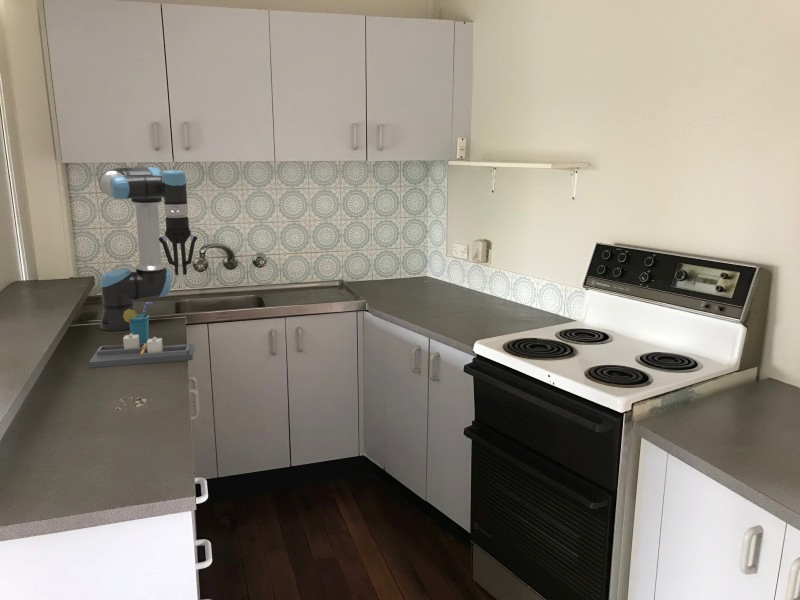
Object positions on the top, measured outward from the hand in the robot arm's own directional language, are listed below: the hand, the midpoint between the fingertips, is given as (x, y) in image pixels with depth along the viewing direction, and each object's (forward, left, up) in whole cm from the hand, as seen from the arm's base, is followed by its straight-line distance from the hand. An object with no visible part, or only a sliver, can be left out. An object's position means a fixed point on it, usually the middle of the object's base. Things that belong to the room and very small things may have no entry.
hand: (181, 284), depth 235 cm
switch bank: (+2, -14, -25) cm, 29 cm away
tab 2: (+6, -10, -23) cm, 26 cm away
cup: (-18, -17, -25) cm, 35 cm away
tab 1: (-1, -18, -23) cm, 30 cm away
